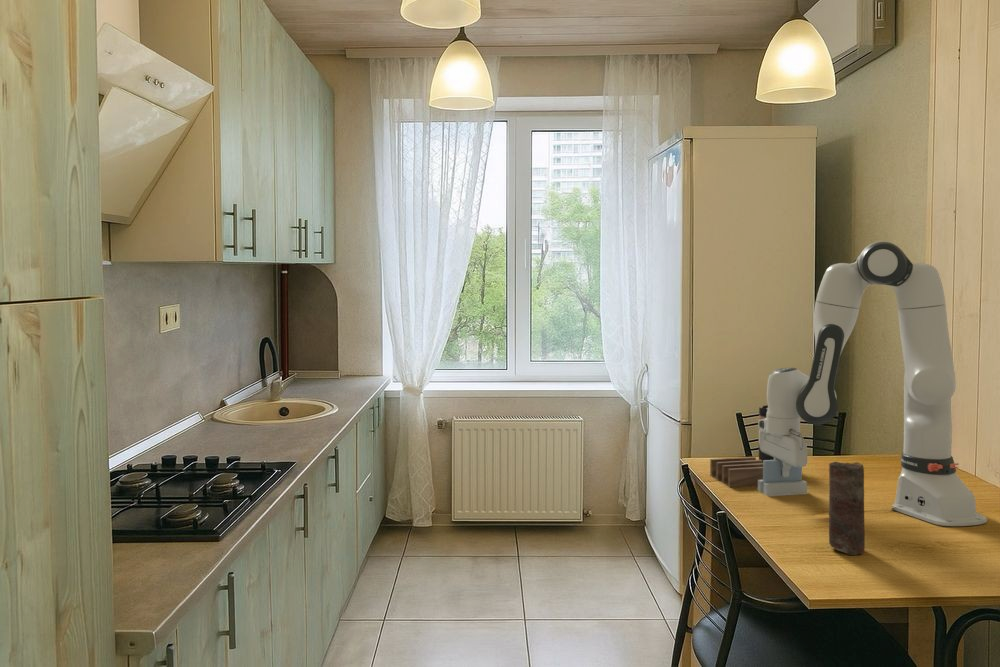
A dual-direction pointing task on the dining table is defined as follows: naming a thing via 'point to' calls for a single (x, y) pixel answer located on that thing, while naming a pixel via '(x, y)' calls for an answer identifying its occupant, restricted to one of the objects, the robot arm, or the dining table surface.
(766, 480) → the side plate
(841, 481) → the dark brown tall block
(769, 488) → the plate stand
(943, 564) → the dining table surface
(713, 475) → the dish rack
